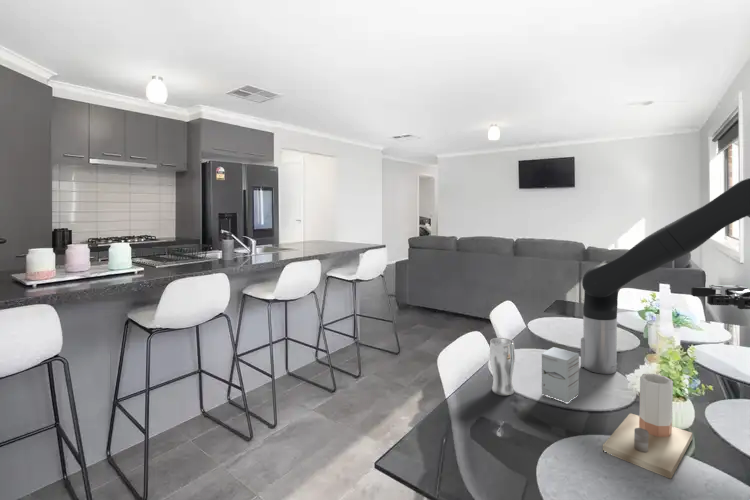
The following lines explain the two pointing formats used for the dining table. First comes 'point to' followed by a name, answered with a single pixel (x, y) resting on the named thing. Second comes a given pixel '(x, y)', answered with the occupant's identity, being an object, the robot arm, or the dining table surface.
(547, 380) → the supplement box
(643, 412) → the sleeve
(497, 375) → the beer glass
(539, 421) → the dining table surface
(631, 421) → the pin board
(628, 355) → the dining table surface
